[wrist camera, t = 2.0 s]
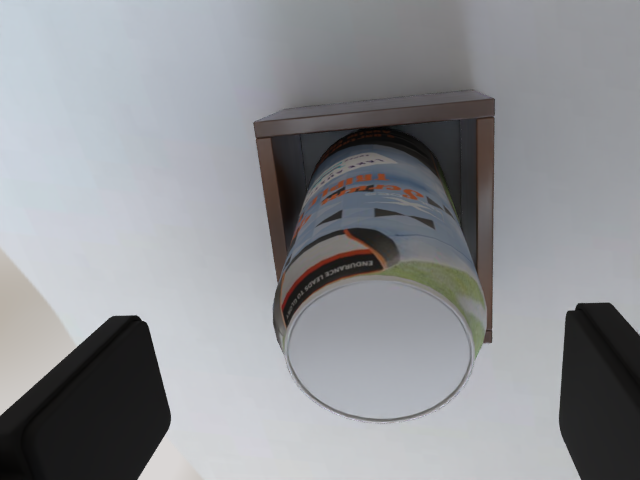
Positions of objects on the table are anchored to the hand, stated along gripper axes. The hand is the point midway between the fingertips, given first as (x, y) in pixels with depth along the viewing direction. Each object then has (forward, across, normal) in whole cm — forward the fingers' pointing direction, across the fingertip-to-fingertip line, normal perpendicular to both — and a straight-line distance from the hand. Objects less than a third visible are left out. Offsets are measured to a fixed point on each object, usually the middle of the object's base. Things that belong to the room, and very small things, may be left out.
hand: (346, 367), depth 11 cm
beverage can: (+14, 0, 0) cm, 14 cm away
